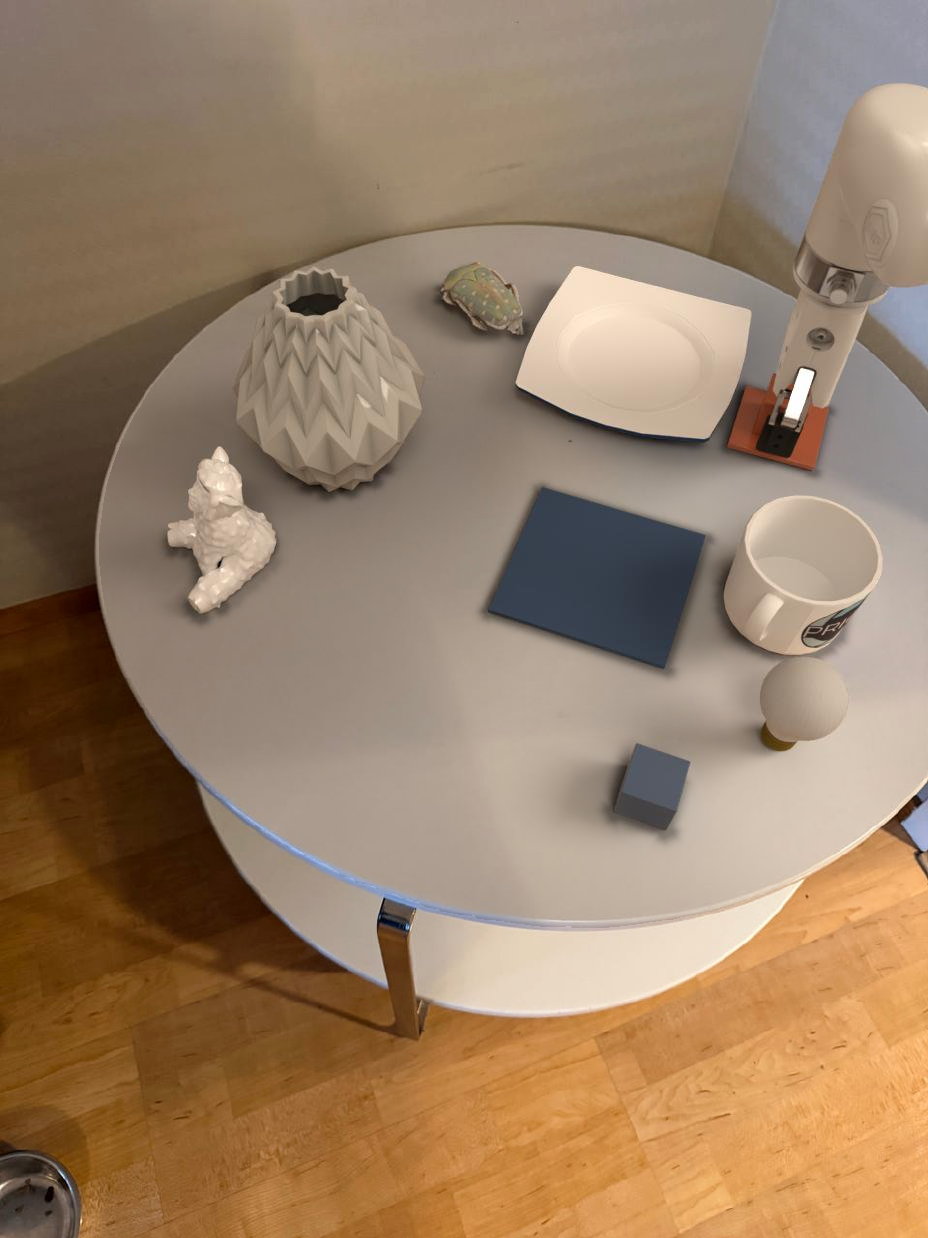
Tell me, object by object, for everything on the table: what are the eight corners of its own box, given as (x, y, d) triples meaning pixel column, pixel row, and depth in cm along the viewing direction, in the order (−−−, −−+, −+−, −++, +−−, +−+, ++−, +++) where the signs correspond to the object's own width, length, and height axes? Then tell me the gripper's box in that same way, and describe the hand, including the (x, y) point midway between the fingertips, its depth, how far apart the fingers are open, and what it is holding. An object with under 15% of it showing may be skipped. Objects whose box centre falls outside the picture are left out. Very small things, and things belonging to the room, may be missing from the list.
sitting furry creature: (166, 535, 82) (125, 441, 72) (261, 504, 84) (234, 407, 74) (196, 620, 78) (156, 532, 68) (295, 584, 80) (271, 494, 70)
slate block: (679, 782, 71) (690, 761, 67) (666, 831, 69) (677, 811, 65) (627, 764, 71) (636, 742, 68) (613, 812, 69) (621, 791, 66)
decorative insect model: (527, 264, 100) (522, 229, 96) (525, 349, 96) (520, 317, 92) (445, 270, 102) (437, 236, 97) (439, 354, 98) (430, 323, 93)
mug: (759, 533, 83) (786, 473, 76) (869, 598, 79) (907, 540, 72) (675, 635, 77) (697, 580, 70) (790, 709, 74) (824, 658, 67)
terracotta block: (803, 415, 89) (816, 383, 86) (795, 444, 88) (809, 414, 84) (761, 403, 90) (773, 372, 87) (752, 433, 88) (764, 402, 85)
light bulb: (797, 790, 70) (843, 733, 62) (723, 751, 72) (759, 690, 63) (825, 729, 73) (874, 666, 64) (754, 692, 75) (792, 627, 66)
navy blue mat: (704, 537, 83) (705, 534, 82) (664, 669, 76) (665, 666, 75) (541, 489, 85) (541, 486, 85) (488, 612, 78) (488, 609, 78)
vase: (261, 541, 82) (214, 384, 66) (245, 406, 91) (200, 238, 75) (444, 511, 84) (441, 351, 68) (412, 381, 92) (402, 212, 77)
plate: (566, 278, 100) (569, 257, 98) (756, 327, 97) (763, 306, 94) (500, 409, 90) (501, 389, 88) (709, 469, 87) (716, 450, 84)
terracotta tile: (827, 411, 91) (829, 406, 90) (812, 471, 87) (814, 466, 86) (744, 389, 92) (746, 384, 92) (726, 447, 88) (728, 442, 88)
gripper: (880, 345, 68) (804, 500, 83) (910, 206, 77) (836, 369, 92) (777, 320, 70) (720, 477, 85) (817, 186, 78) (759, 350, 93)
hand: (781, 420), depth 88 cm, fingers open, 7 cm apart
